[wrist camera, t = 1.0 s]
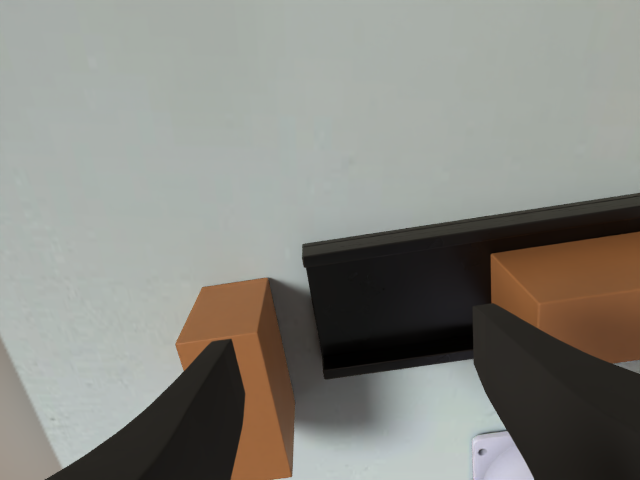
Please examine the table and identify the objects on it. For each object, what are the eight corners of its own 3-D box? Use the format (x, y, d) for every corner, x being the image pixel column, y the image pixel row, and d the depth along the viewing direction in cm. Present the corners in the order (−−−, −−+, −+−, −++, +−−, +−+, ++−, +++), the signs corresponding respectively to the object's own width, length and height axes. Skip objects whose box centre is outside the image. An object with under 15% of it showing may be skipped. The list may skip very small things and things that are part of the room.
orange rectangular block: (267, 276, 23) (257, 332, 18) (295, 402, 26) (292, 477, 21) (202, 287, 23) (174, 344, 18) (236, 410, 26) (220, 487, 21)
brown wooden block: (647, 290, 23) (733, 347, 18) (490, 312, 23) (536, 375, 19) (655, 228, 22) (749, 273, 17) (489, 253, 22) (538, 303, 17)
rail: (650, 314, 24) (672, 331, 23) (323, 361, 25) (324, 380, 23) (667, 188, 21) (693, 198, 20) (302, 243, 22) (301, 257, 21)
